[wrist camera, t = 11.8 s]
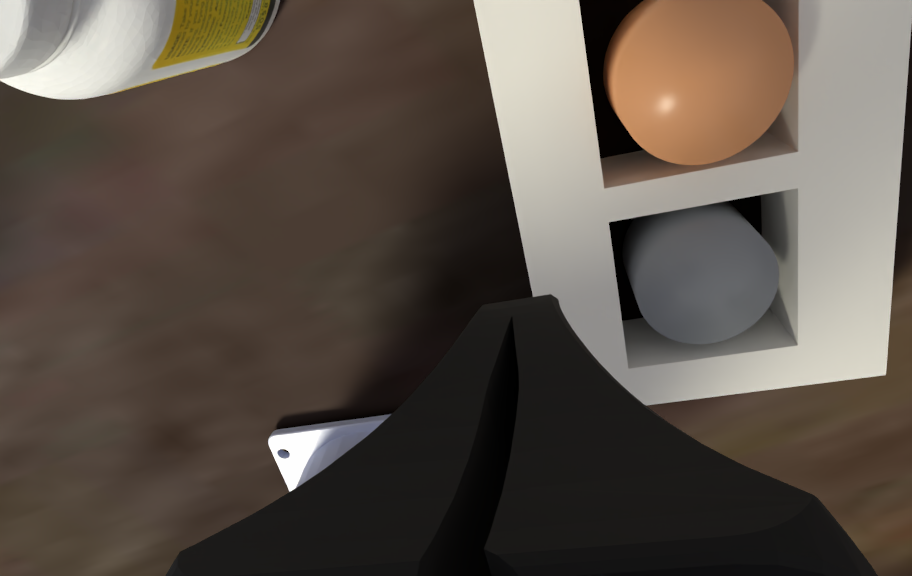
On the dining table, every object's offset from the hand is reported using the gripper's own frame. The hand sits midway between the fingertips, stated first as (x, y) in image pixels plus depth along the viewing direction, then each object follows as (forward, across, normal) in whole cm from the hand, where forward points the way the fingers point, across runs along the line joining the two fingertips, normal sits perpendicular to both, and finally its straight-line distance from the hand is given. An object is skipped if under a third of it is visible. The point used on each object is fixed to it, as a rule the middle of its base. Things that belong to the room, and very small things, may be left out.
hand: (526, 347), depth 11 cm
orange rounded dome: (+9, -5, -3) cm, 11 cm away
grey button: (+10, -5, +3) cm, 12 cm away
